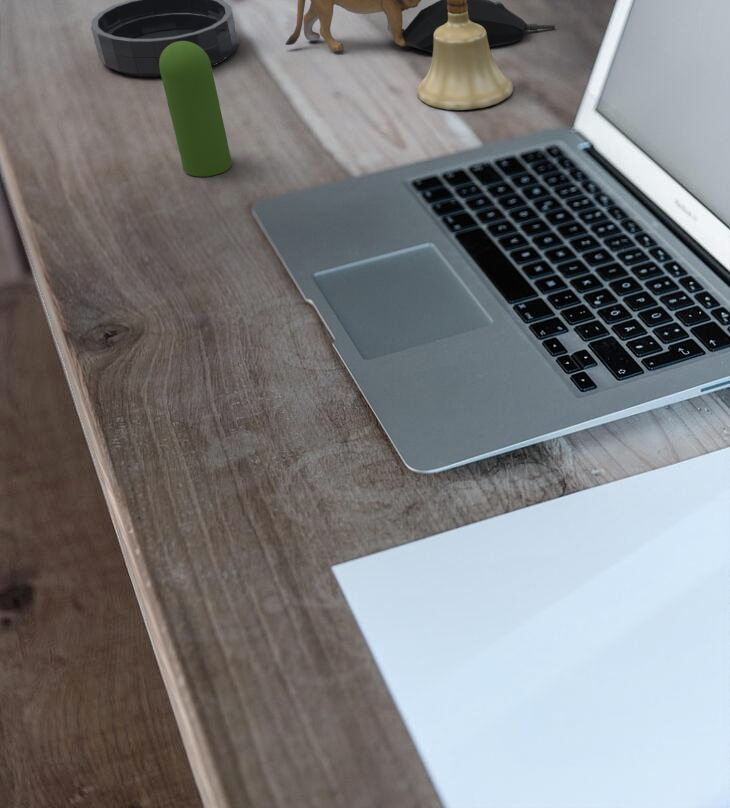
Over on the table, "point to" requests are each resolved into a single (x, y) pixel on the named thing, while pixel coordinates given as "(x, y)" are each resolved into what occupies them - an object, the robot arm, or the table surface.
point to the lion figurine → (359, 3)
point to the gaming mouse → (480, 10)
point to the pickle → (194, 109)
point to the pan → (161, 32)
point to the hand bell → (462, 66)
